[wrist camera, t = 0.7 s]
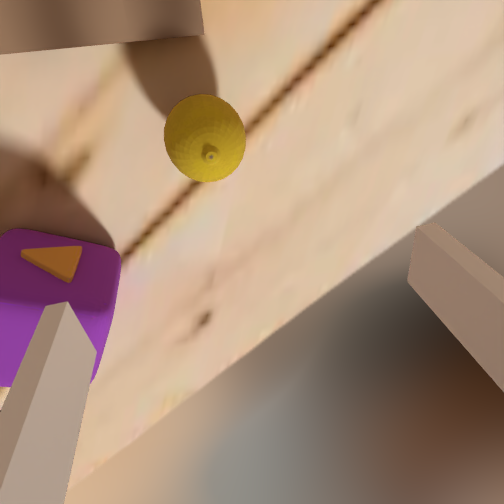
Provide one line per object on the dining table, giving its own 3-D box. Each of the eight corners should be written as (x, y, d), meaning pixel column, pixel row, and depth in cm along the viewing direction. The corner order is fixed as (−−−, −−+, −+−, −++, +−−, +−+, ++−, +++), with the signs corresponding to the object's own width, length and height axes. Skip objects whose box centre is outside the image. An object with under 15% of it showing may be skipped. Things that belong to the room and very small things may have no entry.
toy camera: (-64, 210, 27) (-160, 293, 19) (123, 225, 31) (110, 300, 23) (-35, 315, 33) (-101, 414, 25) (121, 316, 37) (109, 403, 29)
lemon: (212, 70, 26) (229, 89, 19) (246, 136, 29) (271, 172, 23) (148, 109, 26) (144, 141, 20) (189, 170, 30) (196, 214, 23)
